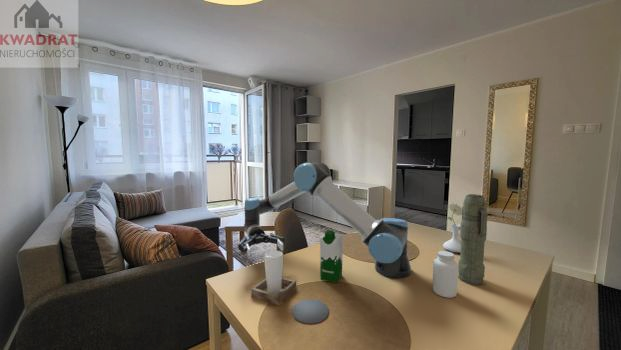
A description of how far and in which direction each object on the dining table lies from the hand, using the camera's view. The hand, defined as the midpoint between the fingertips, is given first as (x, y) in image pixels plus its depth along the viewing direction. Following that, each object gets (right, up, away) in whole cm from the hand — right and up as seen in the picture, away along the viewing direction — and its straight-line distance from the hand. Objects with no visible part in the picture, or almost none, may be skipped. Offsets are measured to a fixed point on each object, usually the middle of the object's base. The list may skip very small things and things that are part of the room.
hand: (266, 250), depth 101 cm
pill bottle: (+68, -13, -8) cm, 70 cm away
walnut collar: (+4, -14, -8) cm, 16 cm away
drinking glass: (+4, -14, -8) cm, 17 cm away
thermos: (+84, -13, +1) cm, 85 cm away
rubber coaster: (+18, -14, -19) cm, 30 cm away
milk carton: (+27, -13, +3) cm, 30 cm away
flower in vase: (+95, -10, +32) cm, 100 cm away
